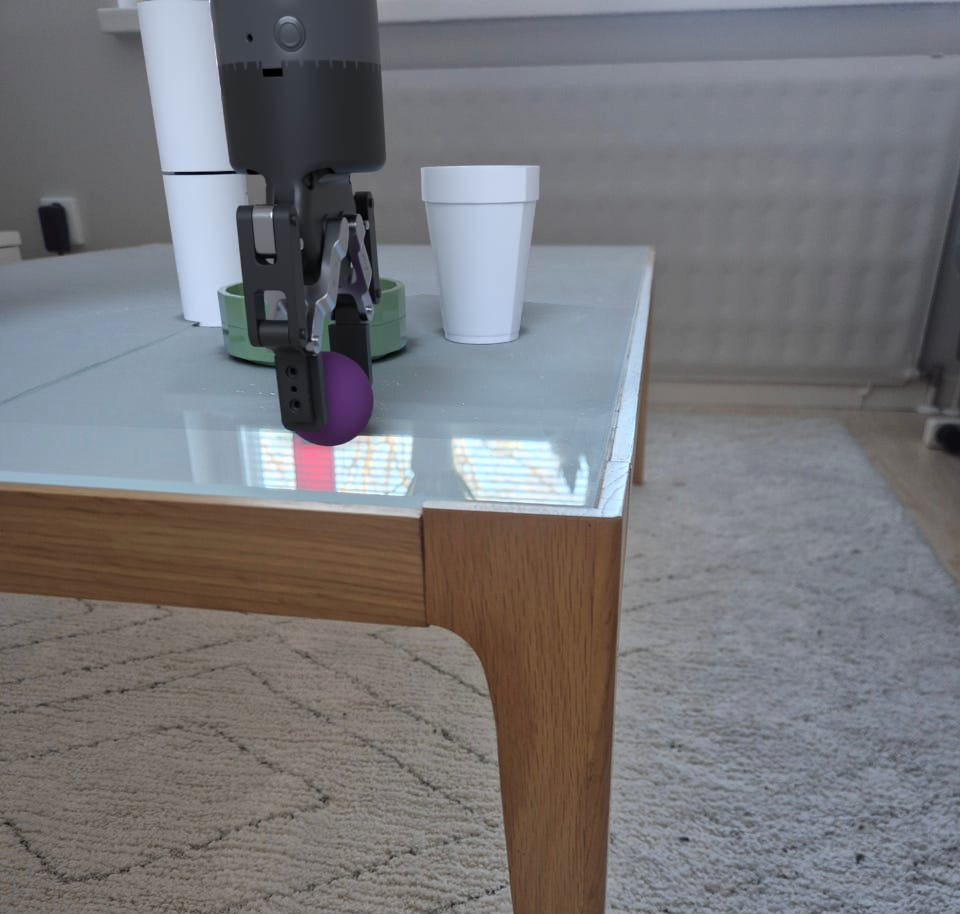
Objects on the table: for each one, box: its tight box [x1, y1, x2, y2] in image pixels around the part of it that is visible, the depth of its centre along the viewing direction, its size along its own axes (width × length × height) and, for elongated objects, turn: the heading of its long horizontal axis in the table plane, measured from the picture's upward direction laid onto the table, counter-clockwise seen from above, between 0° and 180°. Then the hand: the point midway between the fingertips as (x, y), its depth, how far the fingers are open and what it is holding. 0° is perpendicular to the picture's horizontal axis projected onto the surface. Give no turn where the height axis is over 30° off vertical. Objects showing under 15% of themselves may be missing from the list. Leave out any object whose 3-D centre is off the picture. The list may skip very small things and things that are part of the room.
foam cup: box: [420, 164, 541, 345], centre depth 77 cm, size 10×9×13 cm
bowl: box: [217, 276, 408, 367], centre depth 74 cm, size 14×14×5 cm
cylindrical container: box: [136, 0, 250, 328], centre depth 84 cm, size 7×7×25 cm
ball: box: [293, 351, 375, 447], centre depth 51 cm, size 5×5×5 cm
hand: (331, 408), depth 51 cm, fingers open, 8 cm apart
